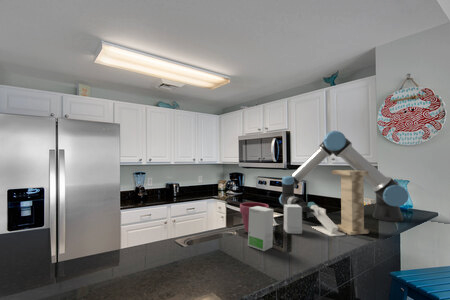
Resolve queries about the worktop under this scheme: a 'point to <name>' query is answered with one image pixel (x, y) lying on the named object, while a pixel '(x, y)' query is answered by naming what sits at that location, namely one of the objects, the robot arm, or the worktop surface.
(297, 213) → the supplement box
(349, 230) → the stand
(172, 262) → the worktop surface
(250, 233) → the skincare box
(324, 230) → the notepad
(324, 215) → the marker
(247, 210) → the plant pot
